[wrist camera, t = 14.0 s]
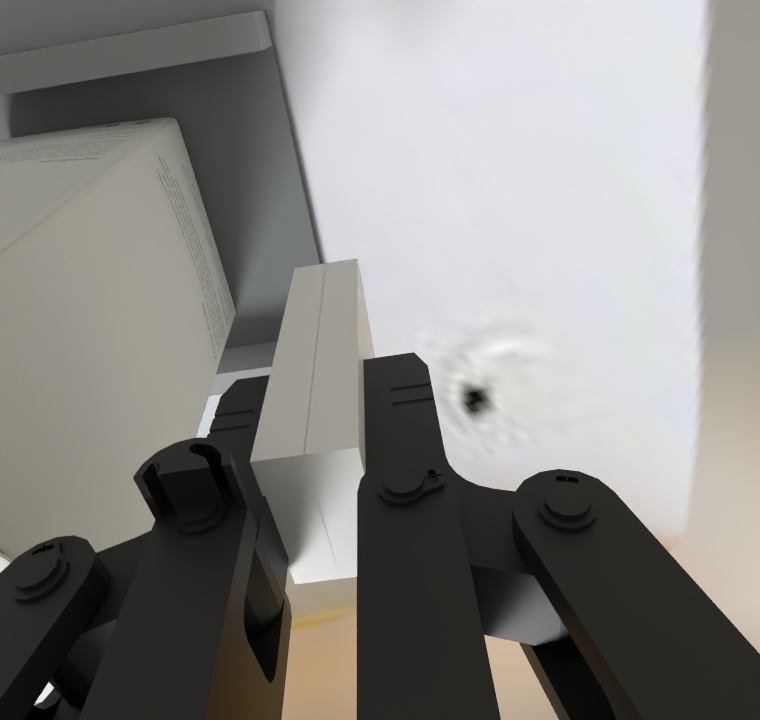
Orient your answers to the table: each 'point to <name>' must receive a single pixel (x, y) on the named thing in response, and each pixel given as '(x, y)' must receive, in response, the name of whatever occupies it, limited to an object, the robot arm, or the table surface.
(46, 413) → the skincare box
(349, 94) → the table surface
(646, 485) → the table surface
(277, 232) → the rubber tray
